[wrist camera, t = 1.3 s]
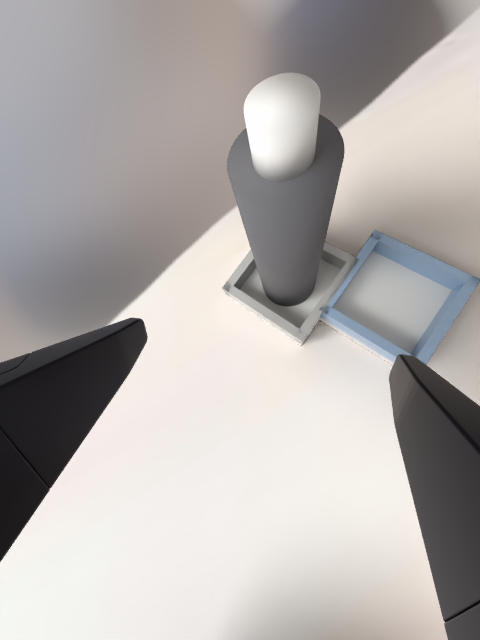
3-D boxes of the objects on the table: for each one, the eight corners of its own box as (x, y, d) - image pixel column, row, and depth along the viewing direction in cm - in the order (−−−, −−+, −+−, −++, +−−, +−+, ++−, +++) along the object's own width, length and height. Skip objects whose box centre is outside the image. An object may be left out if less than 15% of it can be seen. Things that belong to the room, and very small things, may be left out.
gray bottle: (295, 316, 22) (301, 183, 7) (252, 289, 23) (186, 132, 9) (325, 274, 22) (387, 68, 8) (281, 249, 23) (264, 35, 9)
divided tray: (386, 403, 19) (399, 406, 17) (228, 297, 24) (222, 288, 22) (459, 291, 20) (480, 279, 18) (293, 209, 25) (293, 191, 23)
